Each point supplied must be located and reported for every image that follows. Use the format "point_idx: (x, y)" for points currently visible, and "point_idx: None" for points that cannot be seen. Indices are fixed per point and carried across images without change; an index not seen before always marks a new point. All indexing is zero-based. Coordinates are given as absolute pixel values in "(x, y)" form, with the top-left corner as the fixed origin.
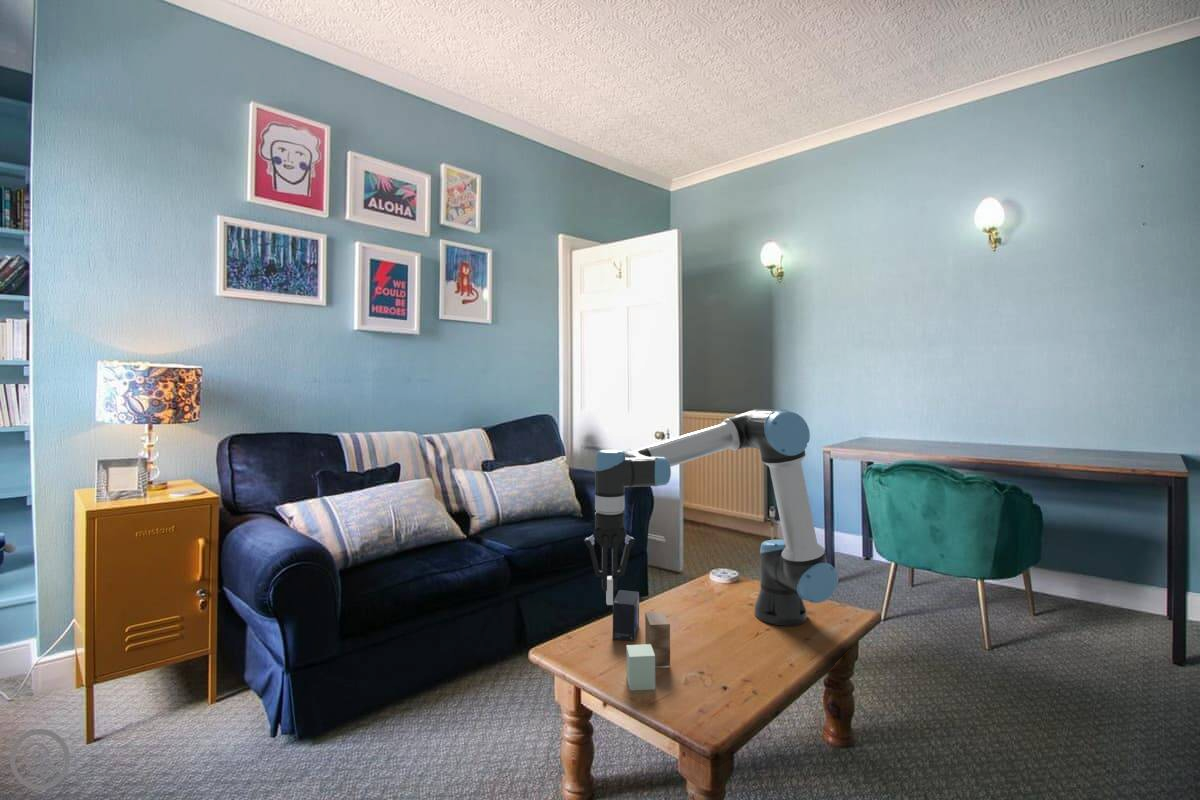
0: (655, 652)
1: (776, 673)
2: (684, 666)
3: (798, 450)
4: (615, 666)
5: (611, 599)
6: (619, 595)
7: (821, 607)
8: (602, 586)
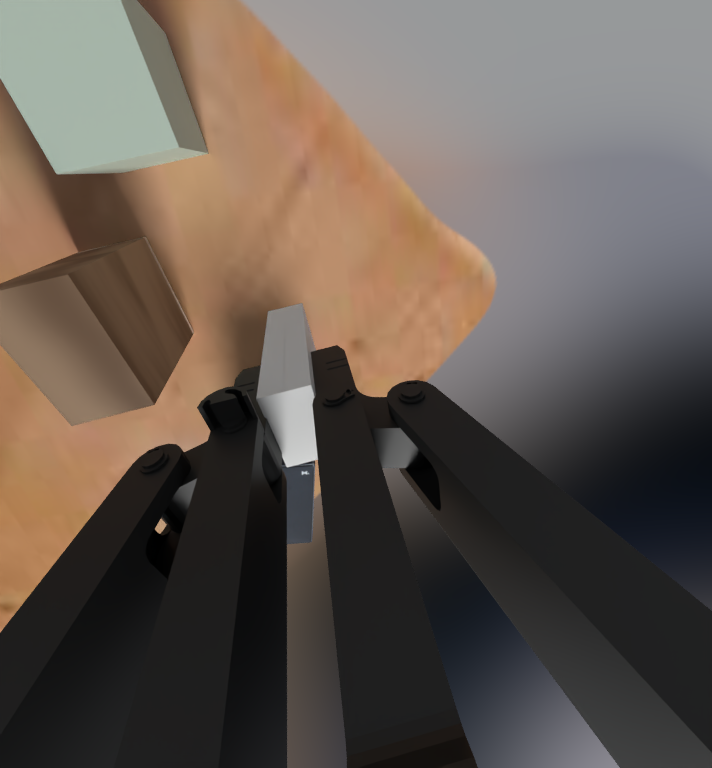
0: (105, 251)
1: None
2: (28, 264)
3: None
4: (266, 233)
5: (275, 321)
6: (302, 512)
7: None
8: (346, 359)
